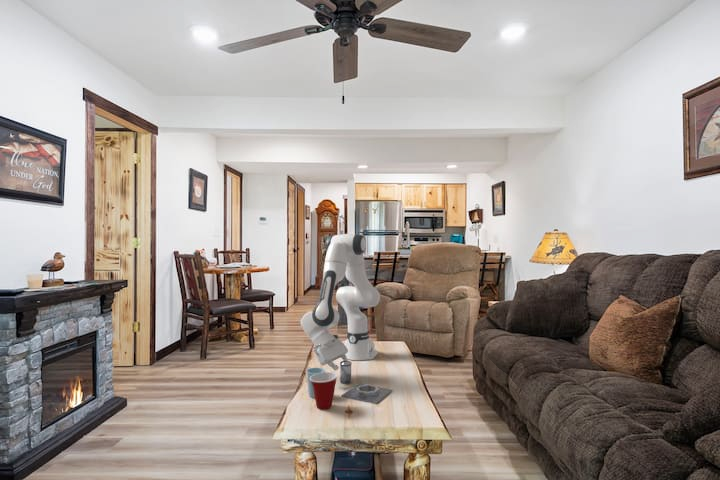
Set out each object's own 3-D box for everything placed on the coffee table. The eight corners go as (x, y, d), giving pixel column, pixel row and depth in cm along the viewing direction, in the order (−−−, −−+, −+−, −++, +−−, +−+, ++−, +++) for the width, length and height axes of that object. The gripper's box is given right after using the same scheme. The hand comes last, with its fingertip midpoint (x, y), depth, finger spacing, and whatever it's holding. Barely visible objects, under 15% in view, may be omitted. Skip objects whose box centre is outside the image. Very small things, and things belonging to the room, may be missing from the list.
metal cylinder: (343, 379, 186) (343, 360, 186) (353, 381, 184) (353, 361, 184) (337, 383, 182) (337, 363, 182) (347, 384, 179) (348, 364, 179)
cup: (326, 398, 164) (326, 372, 164) (307, 400, 162) (307, 374, 162) (323, 391, 171) (323, 367, 171) (305, 393, 169) (305, 368, 169)
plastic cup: (310, 401, 160) (310, 371, 160) (337, 400, 161) (337, 370, 161) (308, 413, 149) (308, 380, 149) (337, 412, 150) (337, 380, 150)
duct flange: (359, 384, 179) (359, 379, 180) (392, 390, 172) (392, 385, 172) (341, 396, 165) (341, 391, 165) (376, 404, 158) (376, 398, 158)
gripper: (315, 343, 178) (334, 368, 173) (339, 334, 196) (357, 357, 191) (307, 351, 180) (325, 377, 175) (331, 342, 198) (348, 365, 193)
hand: (342, 366), depth 183 cm, fingers open, 8 cm apart
